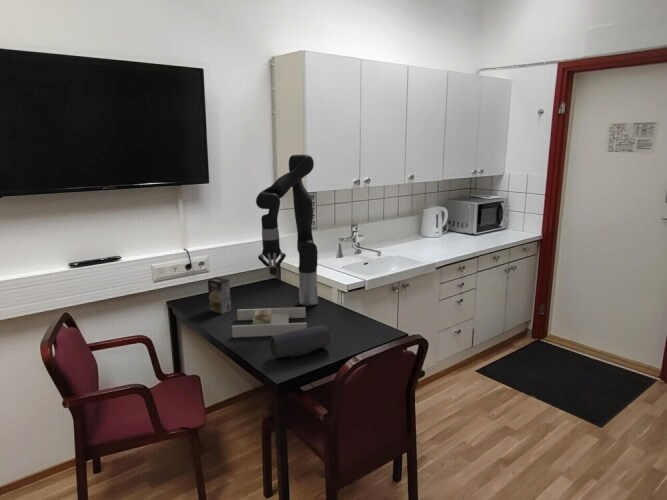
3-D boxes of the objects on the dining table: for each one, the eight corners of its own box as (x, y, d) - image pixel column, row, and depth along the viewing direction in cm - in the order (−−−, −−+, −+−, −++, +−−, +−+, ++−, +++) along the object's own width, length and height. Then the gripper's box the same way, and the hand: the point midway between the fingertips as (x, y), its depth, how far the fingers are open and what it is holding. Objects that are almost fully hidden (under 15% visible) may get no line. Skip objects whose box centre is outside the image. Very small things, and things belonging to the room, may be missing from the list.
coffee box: (209, 310, 231) (206, 280, 227) (218, 306, 237) (216, 276, 233) (222, 314, 227) (220, 282, 223) (231, 310, 232) (229, 279, 228)
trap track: (305, 316, 223) (305, 306, 221) (306, 334, 203) (306, 323, 202) (237, 319, 220) (237, 309, 219) (232, 337, 201) (231, 326, 199)
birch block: (271, 317, 214) (271, 309, 213) (270, 322, 208) (270, 314, 207) (256, 318, 214) (255, 310, 213) (254, 323, 208) (254, 315, 207)
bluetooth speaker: (320, 343, 195) (320, 320, 192) (331, 351, 187) (331, 328, 184) (269, 355, 184) (268, 331, 182) (278, 365, 176) (277, 340, 174)
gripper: (285, 235, 212) (287, 271, 216) (255, 236, 210) (258, 273, 215) (285, 238, 205) (288, 276, 209) (255, 240, 203) (258, 278, 208)
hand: (273, 274), depth 212 cm, fingers closed
